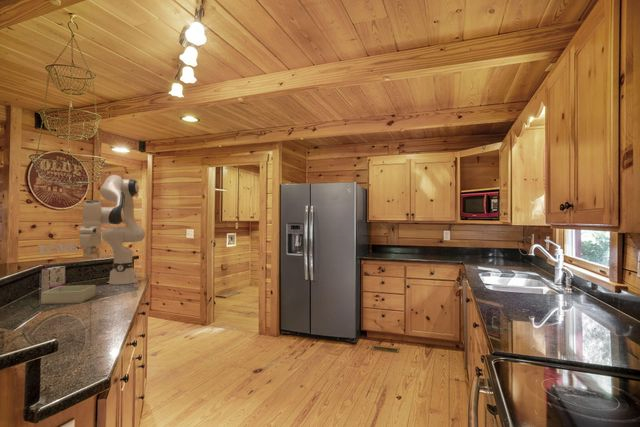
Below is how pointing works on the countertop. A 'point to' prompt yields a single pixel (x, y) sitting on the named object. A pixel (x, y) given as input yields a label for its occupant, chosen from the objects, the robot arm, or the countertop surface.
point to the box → (68, 294)
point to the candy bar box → (53, 278)
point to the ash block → (93, 253)
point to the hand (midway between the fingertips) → (90, 254)
